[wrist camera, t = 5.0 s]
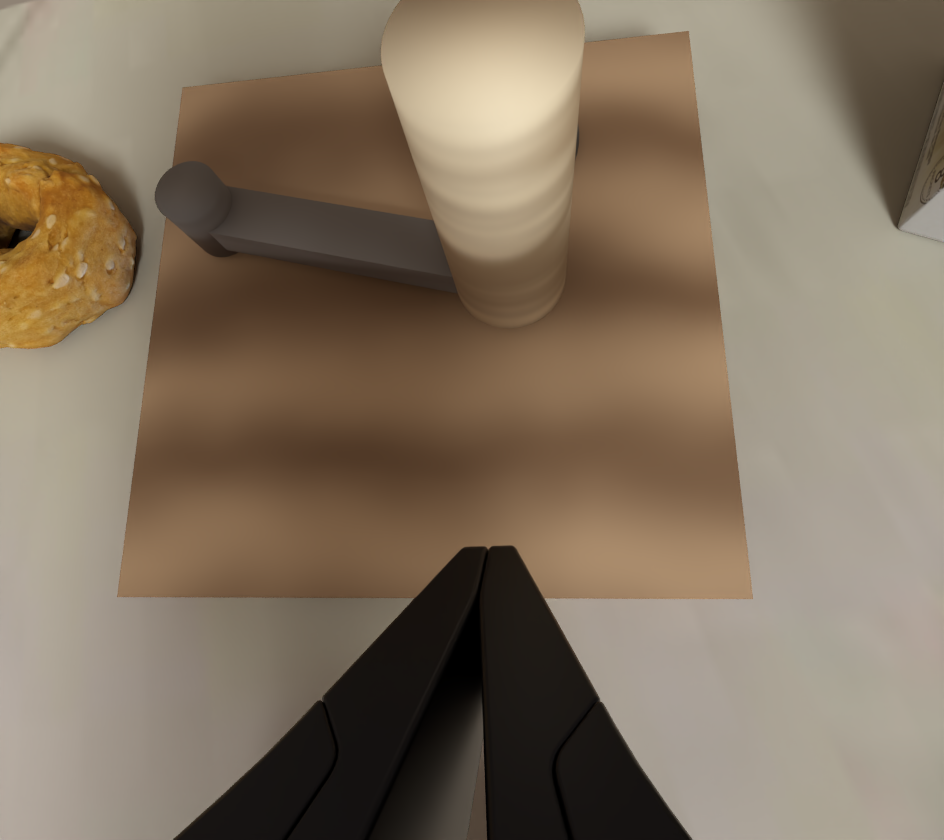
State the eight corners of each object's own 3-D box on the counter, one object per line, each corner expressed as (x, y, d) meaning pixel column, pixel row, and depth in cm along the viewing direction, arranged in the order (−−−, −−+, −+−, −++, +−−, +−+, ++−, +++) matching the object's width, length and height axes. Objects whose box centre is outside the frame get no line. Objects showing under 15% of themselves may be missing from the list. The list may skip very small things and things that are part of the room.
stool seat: (724, 592, 21) (756, 599, 18) (170, 591, 23) (110, 597, 20) (672, 89, 26) (690, 24, 23) (219, 134, 28) (178, 82, 25)
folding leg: (551, 342, 20) (559, 140, 10) (183, 269, 23) (-97, 51, 13) (575, 243, 21) (604, -36, 11) (216, 183, 24) (-24, -86, 14)
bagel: (104, 383, 26) (11, 348, 22) (-80, 332, 28) (-202, 290, 24) (182, 196, 28) (111, 128, 24) (3, 161, 30) (-95, 91, 26)
